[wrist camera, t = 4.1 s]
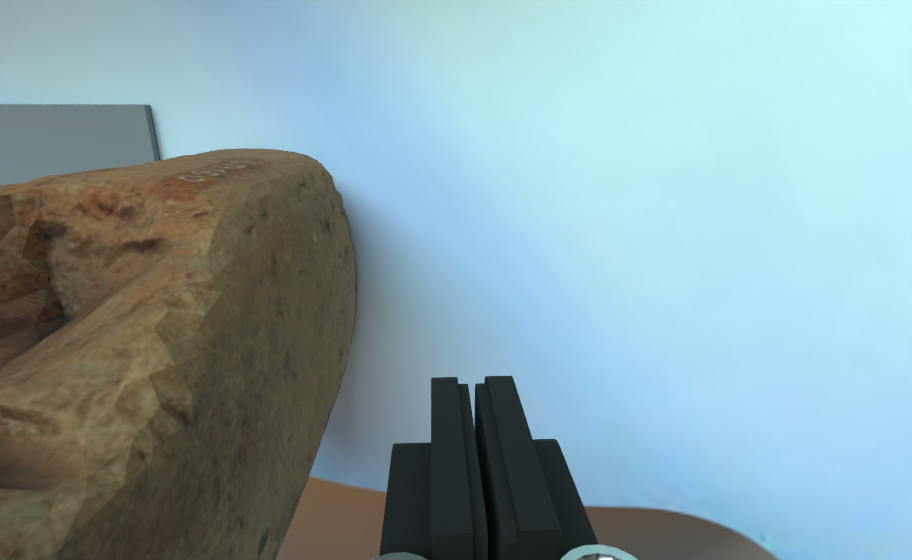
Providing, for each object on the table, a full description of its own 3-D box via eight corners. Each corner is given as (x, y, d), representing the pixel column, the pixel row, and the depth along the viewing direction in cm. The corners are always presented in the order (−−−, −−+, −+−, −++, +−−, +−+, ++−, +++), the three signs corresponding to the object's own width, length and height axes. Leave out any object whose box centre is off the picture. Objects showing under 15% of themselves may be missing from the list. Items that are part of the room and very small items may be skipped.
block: (358, 363, 25) (125, 1095, 6) (211, 354, 25) (-530, 1121, 6) (365, 150, 22) (-94, 331, 3) (195, 135, 21) (-1692, 232, 2)
